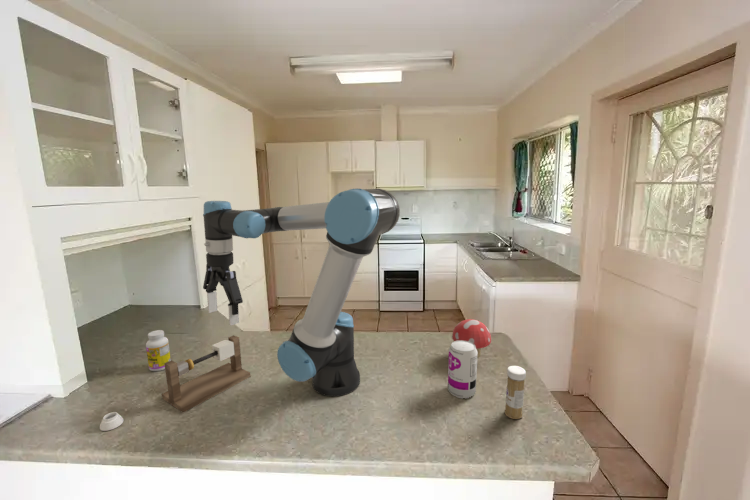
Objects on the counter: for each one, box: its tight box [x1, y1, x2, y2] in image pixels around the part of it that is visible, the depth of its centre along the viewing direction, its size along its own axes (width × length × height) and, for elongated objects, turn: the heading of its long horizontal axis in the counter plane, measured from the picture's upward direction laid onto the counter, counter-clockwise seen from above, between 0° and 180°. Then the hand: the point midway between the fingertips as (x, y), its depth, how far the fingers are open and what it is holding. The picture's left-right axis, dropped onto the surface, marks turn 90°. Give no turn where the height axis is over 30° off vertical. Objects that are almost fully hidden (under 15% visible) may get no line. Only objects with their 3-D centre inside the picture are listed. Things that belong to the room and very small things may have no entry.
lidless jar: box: [99, 411, 124, 432], centre depth 91 cm, size 5×3×5 cm
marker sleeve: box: [211, 338, 235, 362], centre depth 111 cm, size 4×5×4 cm
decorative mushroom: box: [451, 318, 492, 360], centre depth 122 cm, size 13×13×15 cm
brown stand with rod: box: [161, 335, 252, 414], centre depth 107 cm, size 12×22×13 cm, turn 146°
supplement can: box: [447, 340, 478, 399], centre depth 103 cm, size 8×8×15 cm
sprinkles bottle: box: [504, 365, 527, 420], centre depth 92 cm, size 5×5×14 cm
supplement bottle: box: [145, 329, 172, 372], centre depth 119 cm, size 7×7×13 cm
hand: (223, 317), depth 109 cm, fingers open, 13 cm apart
